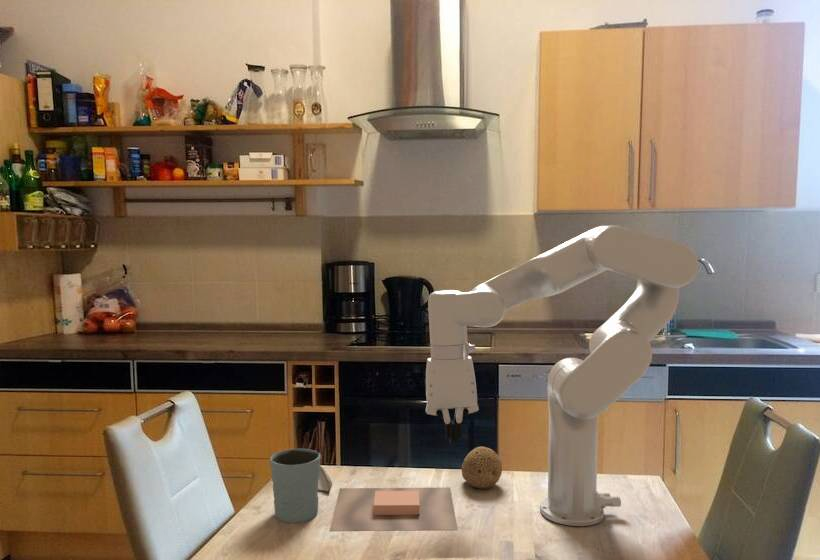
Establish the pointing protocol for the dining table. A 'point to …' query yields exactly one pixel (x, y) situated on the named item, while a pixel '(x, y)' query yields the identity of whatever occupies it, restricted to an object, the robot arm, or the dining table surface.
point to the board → (359, 515)
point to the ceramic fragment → (324, 481)
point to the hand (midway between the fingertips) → (453, 440)
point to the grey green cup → (295, 484)
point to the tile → (396, 503)
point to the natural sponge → (482, 468)
